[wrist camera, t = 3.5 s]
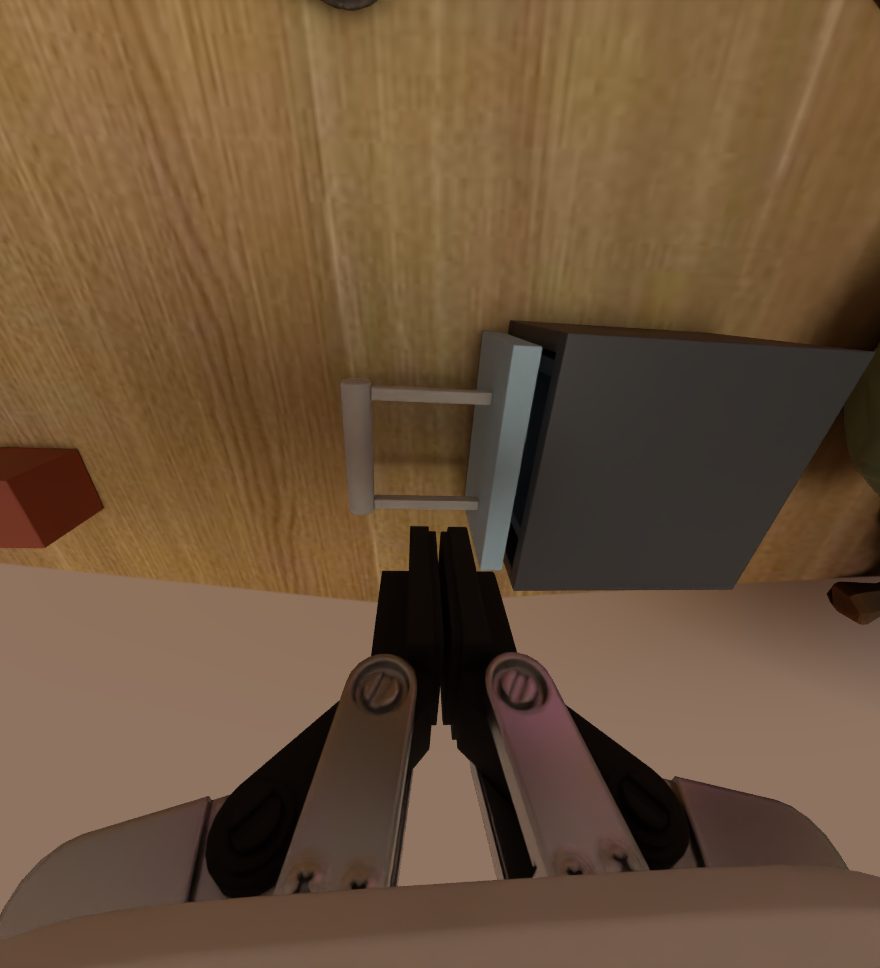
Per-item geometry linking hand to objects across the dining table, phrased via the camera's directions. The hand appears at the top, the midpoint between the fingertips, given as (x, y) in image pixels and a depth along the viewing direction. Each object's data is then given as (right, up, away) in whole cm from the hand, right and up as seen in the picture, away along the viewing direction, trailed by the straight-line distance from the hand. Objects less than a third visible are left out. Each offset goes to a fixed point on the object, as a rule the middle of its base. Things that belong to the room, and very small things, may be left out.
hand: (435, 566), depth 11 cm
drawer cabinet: (+10, +6, +13) cm, 18 cm away
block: (-25, +3, +12) cm, 28 cm away
